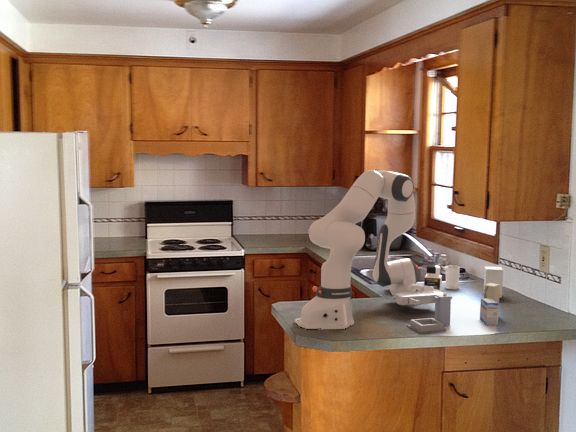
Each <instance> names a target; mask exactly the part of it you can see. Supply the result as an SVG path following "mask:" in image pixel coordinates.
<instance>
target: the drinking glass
mask: <svg viewBox="0 0 576 432" xmlns="http://www.w3.org/2000/svg"><path fill="white" fill-rule="evenodd" d="M460 268H461V267H460V265H459V266H458V265H445V273H444V274H445V289H448V290H457V289H459V282H460V270H461V269H460Z"/></svg>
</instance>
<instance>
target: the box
mask: <svg viewBox="0 0 576 432" xmlns="http://www.w3.org/2000/svg"><path fill="white" fill-rule="evenodd" d="M499 289H500V284H494V283H488V284H486V285H484V284H483V298H490V299H493V300H494V301H496V302H497V303H499V304H500V298H499ZM499 316H500V313H499V310H498V317H499Z"/></svg>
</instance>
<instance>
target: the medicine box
mask: <svg viewBox="0 0 576 432" xmlns="http://www.w3.org/2000/svg"><path fill="white" fill-rule="evenodd" d="M499 309H500V302H499V303H497V302H496V301H494V300H493V299H490V298H484V297H483V298H480V308H479V311H480V312H479V321H480V322H481V323H483V324H485V326H499V316H498V310H499Z"/></svg>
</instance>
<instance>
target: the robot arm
mask: <svg viewBox="0 0 576 432" xmlns="http://www.w3.org/2000/svg"><path fill="white" fill-rule="evenodd" d="M414 186H415V185H414V181H413V179H412V177H410V176H409V175H406V174H404V173H399V172H396V171H395V172H394V171H392V170H383V169H368V170H365V171H364V172H363V173H362V174H360V175H359V176H358V177H357V178H356V180H355V181H354V182H353V183H352V185H351V186H350V188H349V189H348V191H347V192H346V194H344V196H343V198H342V199H341V201H340V202H339V203H337V205H336V206H335V207H334V208H333V209H331V211H329V212H327V214H326V215H324V216H322V217H321V218H319V219H317V220H315V221H313V222H311V224H310V226H309V227H308V228H309V229H308V238H309V240H310V242H312V244H314V245H316V246H317V247H318V246H319V247H320V248H324V249H329V251H330V252H329V256H328V259H326V261H324V262H323V263H322V264H321V268H320V271H321V272H320V277H321V278H320V282H321V283H320V286H315V285H313V287H312V292H314V293H316V296H314V297H313V298H312V299H311V300H310V301H308V302H307V303H306V304H304V305H303V306H302V308H301V312H300V317H298V318H297V317H296V318H295V320H294V323H295V322H296V323H297V324H298V325H300V326H302V327H305V328H321V329H320V330H345V328H346V329H347V328H349V327H351V326H353V325H354V324H355V320H354V315H353V309H352V297H353V290H352V289H353V288H352V285H351V280H352V279H351V277H352V265H353V261H354V258H355V256H356V254H357V253H358V251H360V250H361V249H362V248H363V247H364V245H365V241H366V234H365V230H364V228H362V227H361V226H360V225H357V224H358V223H361V222H362V221H364V220H365V219H366V217H367V216H368V214H369V213H370V211H371V210H372V208H373V207H374V205H375V204H376V202H377V200H378V199H379V198H381V199H384V200H387V214H386V215H387V216H386V220H385V221H384V224H383V225H381V226H380V229H379V233H378V237H377V246H376V250H375V251H376V253H375V260H374V264H373V267H372V279H373V281H374V282H375V284H376V285H378V286H380V287H382V288H384V287H387V286H389V292H390V293H391V295H392V296H391V299H393V300H394V301H395V303H396V304H397V305H399V306H411V307H417V306H420V305H425V304H426V305H427V304H435V299H434V296H435V295H439V294H443V293H444V292H443V291H442V290H441V291H439V290H437V289H434V287H432V286H424V285H421V284H418V283H417V282H418V279H419V268H418V269H417V266H418V265H417V264H416V263H415V262H414V261H413V260H412V259H411V258H408V257H405V258H400V259H395V260H389V253H390V246H391V244H392V243H393V241H395V239H397V238H398V237H399V236H402V235H403V234H405V233H406V232H408V231H410V229H412V227H413V226H414V224H415V221H416V203H415V195H414V191H415V189H414V188H415V187H414ZM388 260H389V261H388ZM416 265H417V266H416ZM297 320H299V321H297ZM350 325H351V326H350Z"/></svg>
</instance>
